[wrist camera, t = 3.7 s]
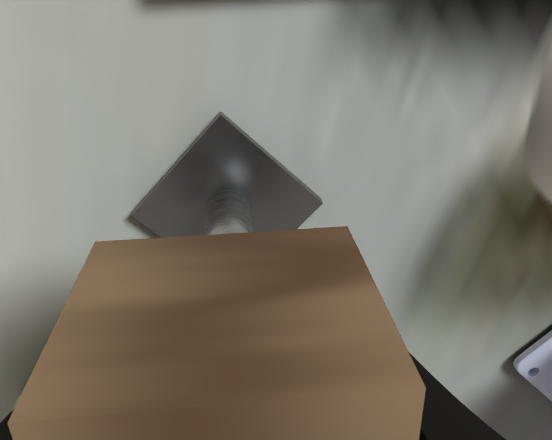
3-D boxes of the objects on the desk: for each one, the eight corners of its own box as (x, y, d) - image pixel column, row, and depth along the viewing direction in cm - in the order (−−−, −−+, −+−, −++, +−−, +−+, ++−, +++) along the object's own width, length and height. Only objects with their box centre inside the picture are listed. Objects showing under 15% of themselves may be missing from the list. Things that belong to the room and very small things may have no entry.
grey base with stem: (320, 198, 20) (356, 282, 14) (234, 283, 21) (238, 389, 16) (220, 111, 18) (219, 170, 13) (133, 210, 19) (98, 301, 14)
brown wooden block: (347, 226, 12) (425, 388, 7) (340, 410, 14) (395, 619, 9) (95, 241, 11) (7, 422, 7) (131, 428, 14) (85, 655, 9)
